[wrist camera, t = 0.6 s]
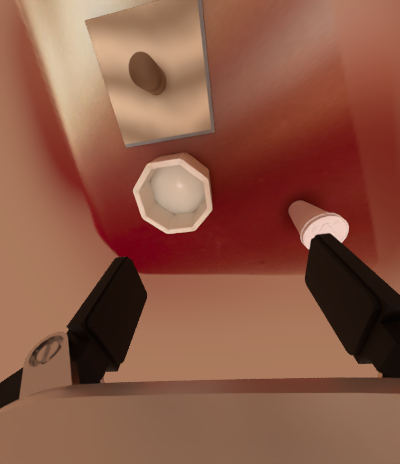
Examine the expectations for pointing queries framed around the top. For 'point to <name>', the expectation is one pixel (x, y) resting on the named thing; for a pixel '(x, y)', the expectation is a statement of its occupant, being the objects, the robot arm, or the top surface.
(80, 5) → the top surface
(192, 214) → the bowl
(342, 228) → the smoothie
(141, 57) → the lid
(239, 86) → the top surface
